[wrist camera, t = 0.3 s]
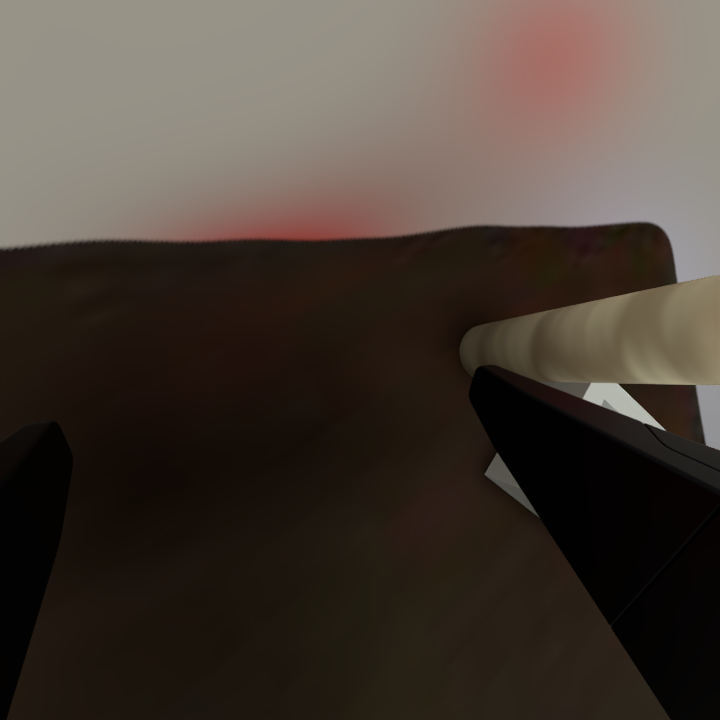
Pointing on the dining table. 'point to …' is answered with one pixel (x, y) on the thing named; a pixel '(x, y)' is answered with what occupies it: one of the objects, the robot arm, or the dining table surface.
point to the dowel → (610, 339)
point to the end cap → (592, 392)
